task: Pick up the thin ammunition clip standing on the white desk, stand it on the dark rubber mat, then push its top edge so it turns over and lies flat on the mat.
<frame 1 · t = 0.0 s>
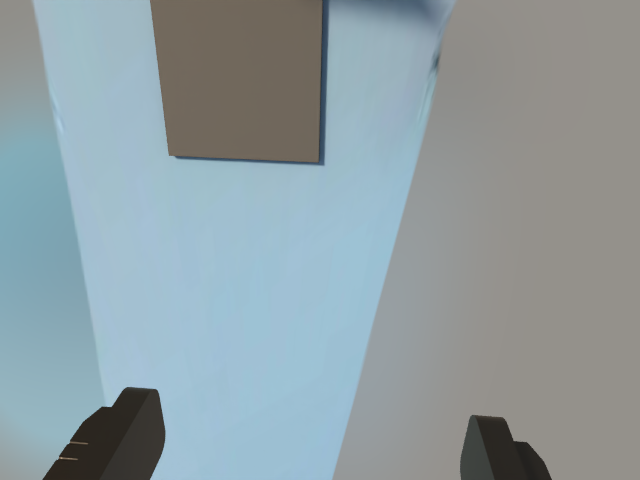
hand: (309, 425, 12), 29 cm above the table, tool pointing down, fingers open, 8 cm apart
mat: (239, 58, 36), on the table
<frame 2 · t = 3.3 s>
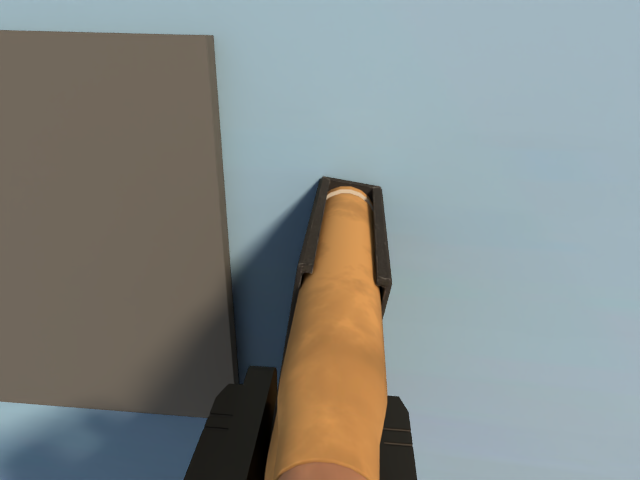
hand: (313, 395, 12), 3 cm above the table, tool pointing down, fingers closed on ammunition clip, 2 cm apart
ammunition clip: (322, 324, 15), on the table, touching gripper
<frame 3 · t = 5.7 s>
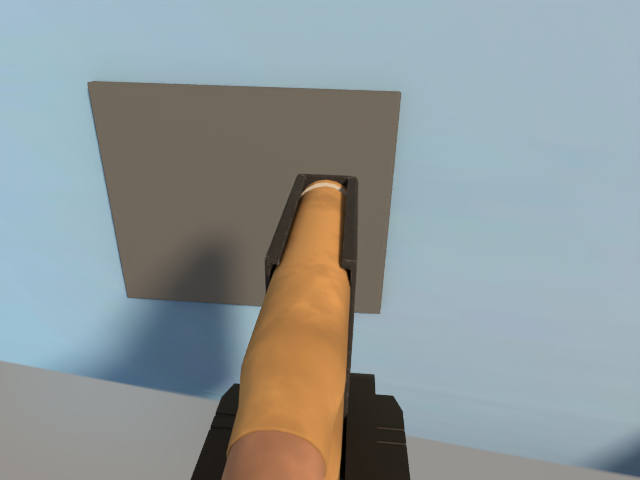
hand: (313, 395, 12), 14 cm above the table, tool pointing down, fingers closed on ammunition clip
mat: (249, 204, 26), on the table
ammunition clip: (323, 318, 16), point 11 cm above the table, touching gripper
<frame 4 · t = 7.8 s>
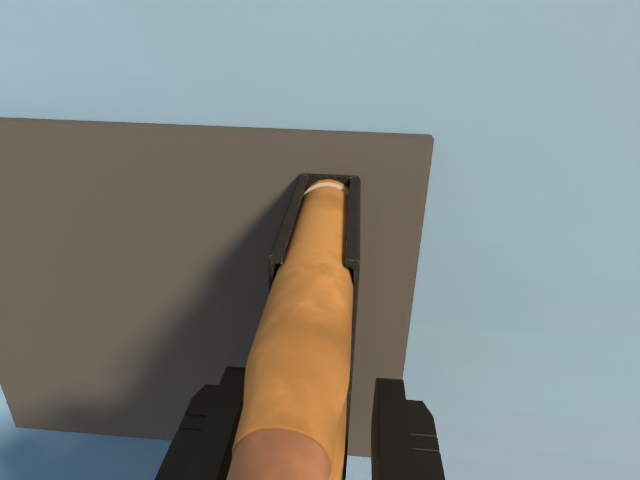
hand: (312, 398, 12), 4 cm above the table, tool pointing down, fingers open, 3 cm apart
mat: (187, 303, 16), on the table
ammunition clip: (325, 318, 16), resting on mat
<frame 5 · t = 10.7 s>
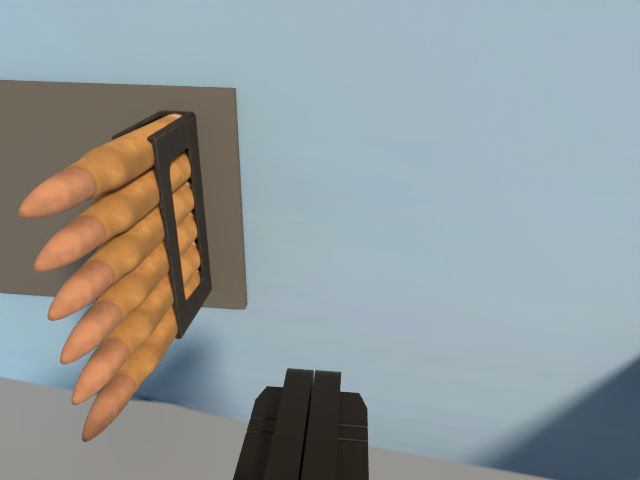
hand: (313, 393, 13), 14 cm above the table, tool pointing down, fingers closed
mat: (106, 200, 26), on the table
ammunition clip: (189, 207, 25), resting on mat
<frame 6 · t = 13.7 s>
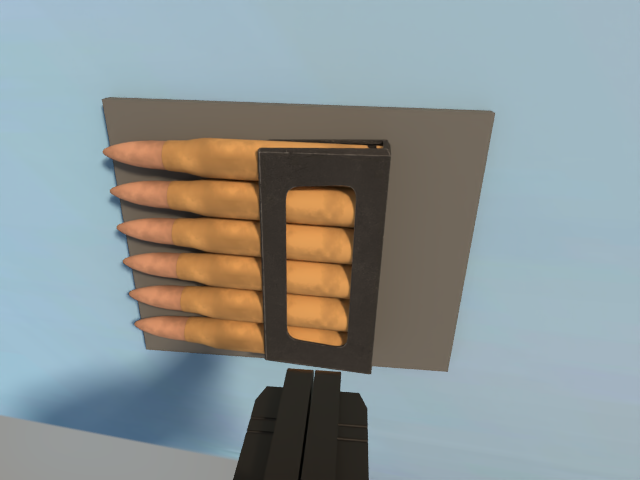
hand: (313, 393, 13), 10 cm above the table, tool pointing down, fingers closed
mat: (295, 244, 21), on the table
ammunition clip: (384, 266, 20), point 2 cm above the table, touching mat
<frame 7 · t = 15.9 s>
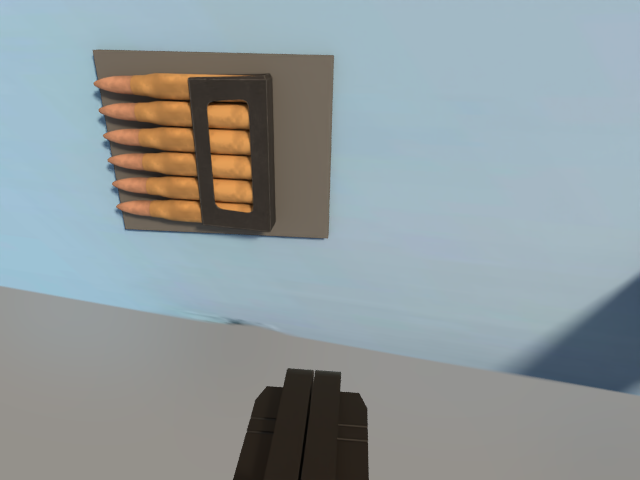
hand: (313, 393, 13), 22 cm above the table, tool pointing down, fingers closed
mat: (221, 149, 33), on the table
ammunition clip: (274, 157, 31), point 2 cm above the table, touching mat
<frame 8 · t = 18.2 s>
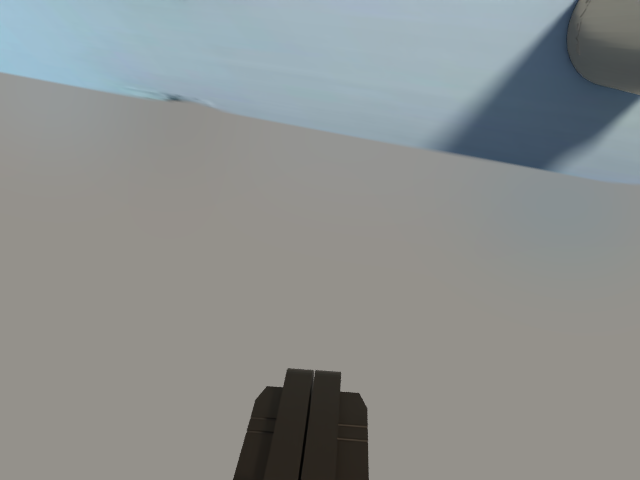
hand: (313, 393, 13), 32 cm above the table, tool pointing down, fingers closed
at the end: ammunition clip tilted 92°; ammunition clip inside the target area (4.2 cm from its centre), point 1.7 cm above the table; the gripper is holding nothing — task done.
